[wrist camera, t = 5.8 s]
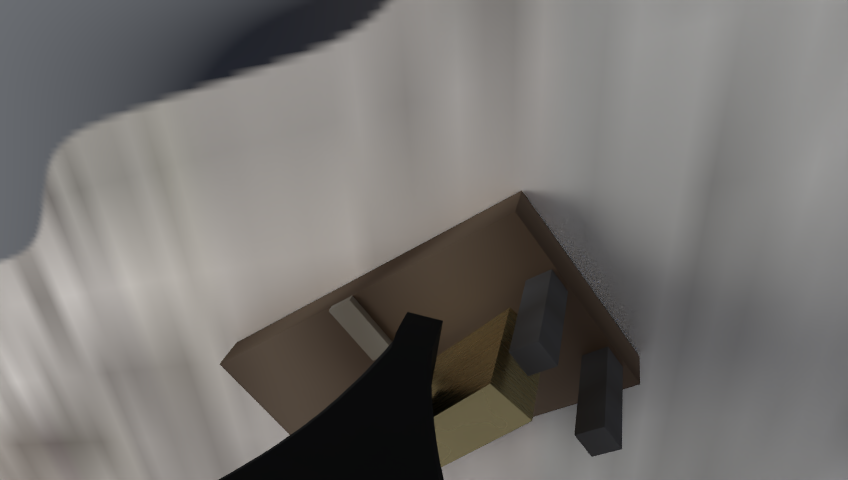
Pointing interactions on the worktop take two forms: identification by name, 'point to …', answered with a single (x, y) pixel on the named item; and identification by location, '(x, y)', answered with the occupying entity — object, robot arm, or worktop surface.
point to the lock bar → (480, 390)
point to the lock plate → (454, 325)
